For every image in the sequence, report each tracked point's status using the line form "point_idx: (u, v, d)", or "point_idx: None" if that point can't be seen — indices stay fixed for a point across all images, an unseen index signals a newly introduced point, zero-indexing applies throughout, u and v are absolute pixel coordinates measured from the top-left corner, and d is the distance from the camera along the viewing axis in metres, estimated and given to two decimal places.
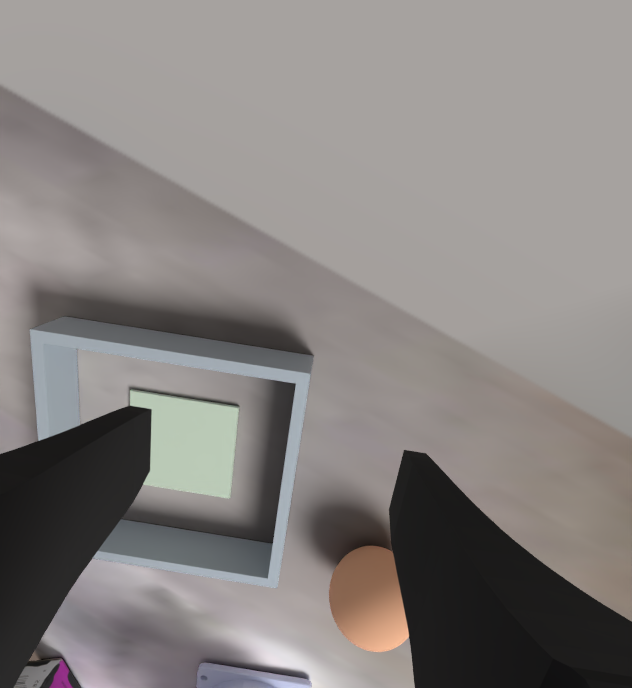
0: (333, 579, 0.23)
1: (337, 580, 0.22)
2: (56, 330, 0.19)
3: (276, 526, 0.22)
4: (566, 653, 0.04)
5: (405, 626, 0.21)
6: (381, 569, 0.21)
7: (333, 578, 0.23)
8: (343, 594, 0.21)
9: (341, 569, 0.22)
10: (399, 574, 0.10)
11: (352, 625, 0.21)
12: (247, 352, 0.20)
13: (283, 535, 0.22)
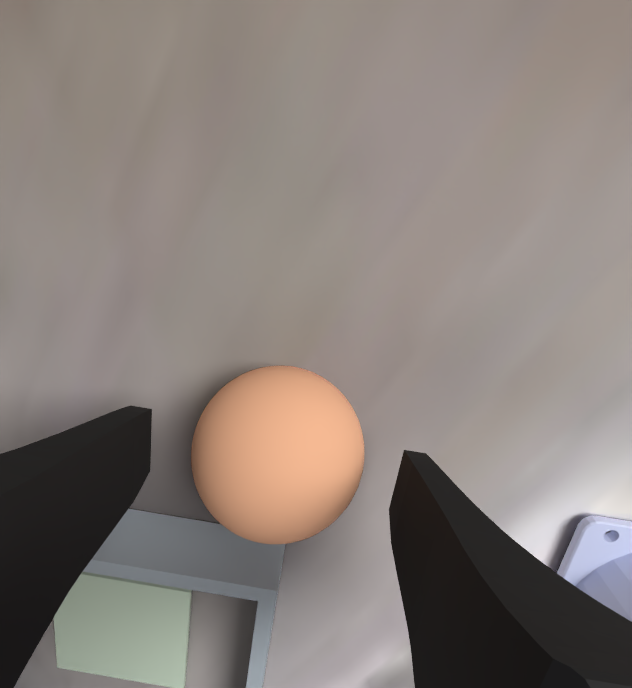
0: None
1: None
2: None
3: (153, 581, 0.14)
4: (567, 652, 0.04)
5: (248, 444, 0.10)
6: (192, 449, 0.12)
7: None
8: None
9: None
10: (399, 574, 0.10)
11: (252, 538, 0.10)
12: None
13: (167, 574, 0.14)
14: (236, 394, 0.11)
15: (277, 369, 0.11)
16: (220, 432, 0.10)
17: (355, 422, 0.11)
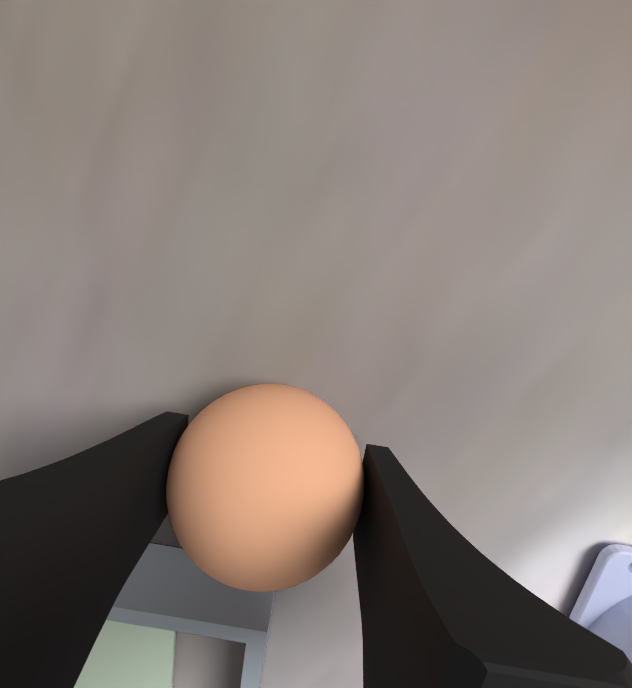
0: None
1: None
2: None
3: (129, 622, 0.12)
4: (474, 637, 0.04)
5: (228, 482, 0.08)
6: None
7: None
8: None
9: None
10: (357, 568, 0.10)
11: (236, 587, 0.09)
12: None
13: (145, 614, 0.12)
14: (217, 420, 0.09)
15: (265, 389, 0.10)
16: (198, 465, 0.09)
17: (354, 450, 0.10)
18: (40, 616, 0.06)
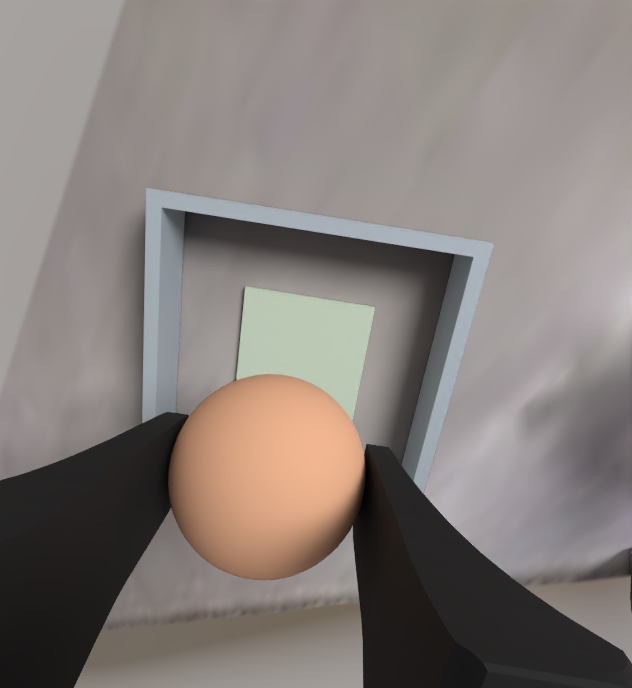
0: None
1: None
2: None
3: (378, 240, 0.15)
4: (474, 637, 0.04)
5: (236, 469, 0.08)
6: (170, 465, 0.10)
7: None
8: None
9: None
10: (357, 567, 0.10)
11: (235, 574, 0.09)
12: None
13: (394, 230, 0.15)
14: (224, 407, 0.09)
15: (272, 379, 0.10)
16: (204, 451, 0.09)
17: (358, 444, 0.10)
18: (40, 616, 0.06)
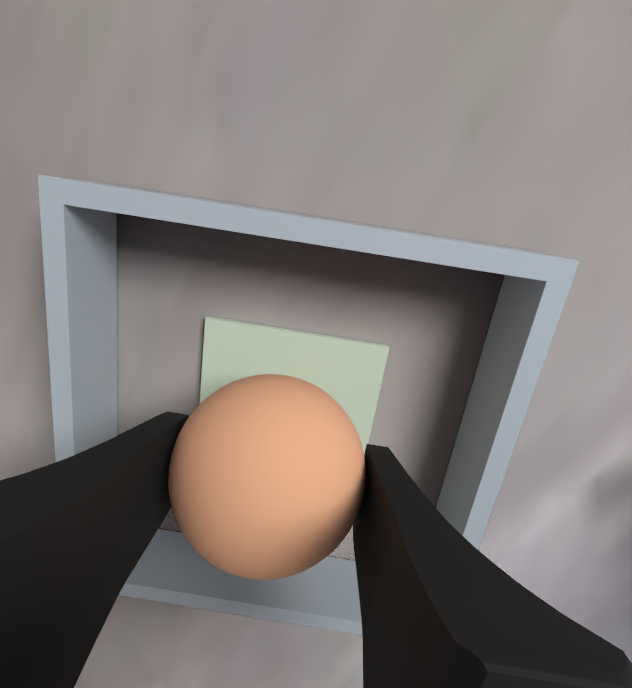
0: None
1: None
2: None
3: (399, 255, 0.10)
4: (475, 637, 0.04)
5: (236, 469, 0.08)
6: (170, 465, 0.10)
7: None
8: None
9: None
10: (357, 567, 0.10)
11: (235, 573, 0.09)
12: None
13: (424, 240, 0.10)
14: (225, 407, 0.09)
15: (273, 379, 0.10)
16: (204, 451, 0.09)
17: (358, 444, 0.10)
18: (40, 616, 0.06)
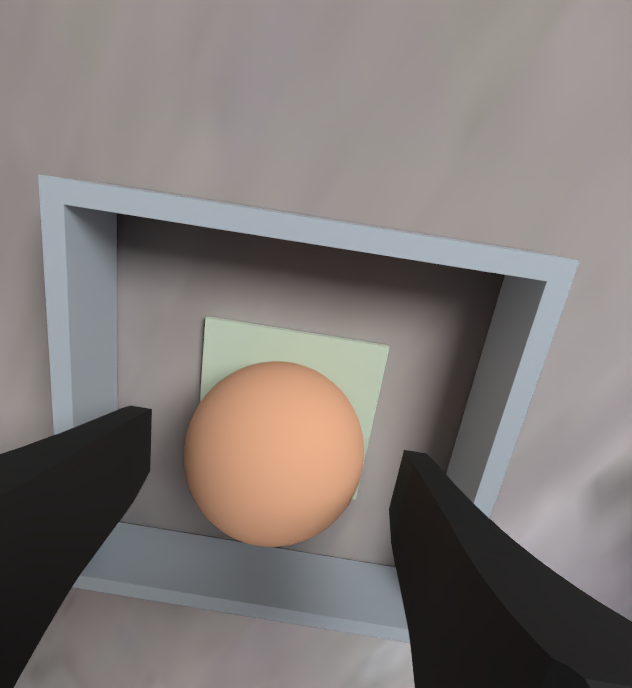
0: None
1: None
2: None
3: (399, 255, 0.10)
4: (567, 652, 0.04)
5: (247, 443, 0.09)
6: (185, 444, 0.11)
7: None
8: None
9: None
10: (399, 574, 0.10)
11: (246, 540, 0.10)
12: None
13: (424, 240, 0.10)
14: (236, 389, 0.10)
15: (279, 365, 0.11)
16: (218, 428, 0.10)
17: (357, 424, 0.11)
18: None
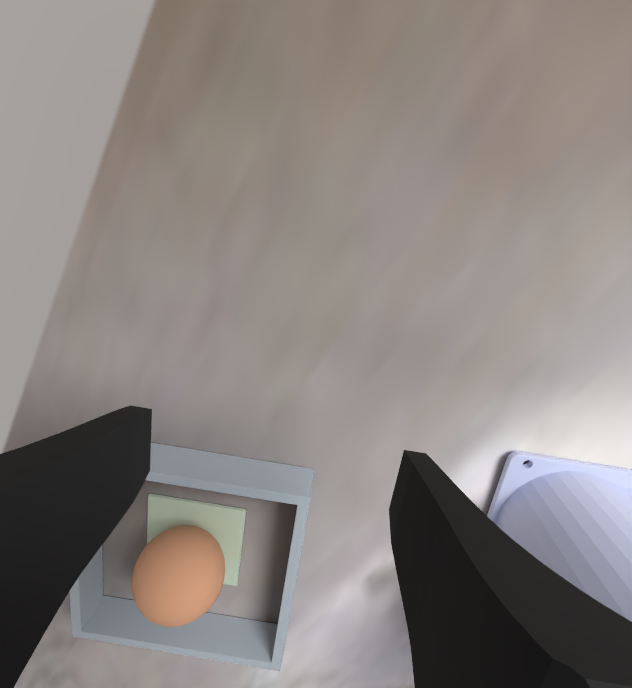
0: None
1: None
2: None
3: (229, 492, 0.21)
4: (568, 652, 0.04)
5: (157, 585, 0.21)
6: None
7: None
8: None
9: None
10: (399, 574, 0.10)
11: None
12: None
13: (239, 487, 0.21)
14: (155, 554, 0.22)
15: (178, 536, 0.22)
16: (145, 575, 0.21)
17: (217, 564, 0.22)
18: None
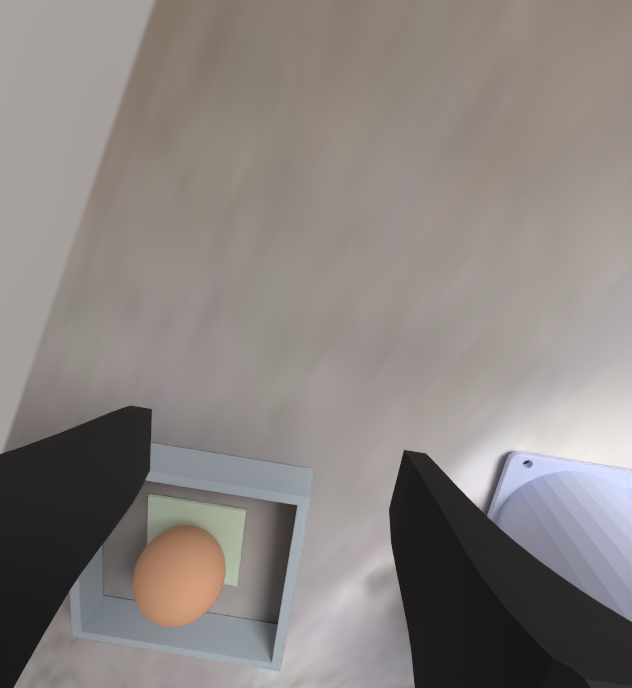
0: None
1: None
2: None
3: (229, 493, 0.21)
4: (567, 653, 0.04)
5: (158, 586, 0.21)
6: (133, 575, 0.23)
7: None
8: None
9: None
10: (399, 574, 0.10)
11: (160, 625, 0.22)
12: None
13: (239, 487, 0.21)
14: (155, 555, 0.22)
15: (179, 536, 0.22)
16: (146, 576, 0.21)
17: (217, 564, 0.22)
18: None
